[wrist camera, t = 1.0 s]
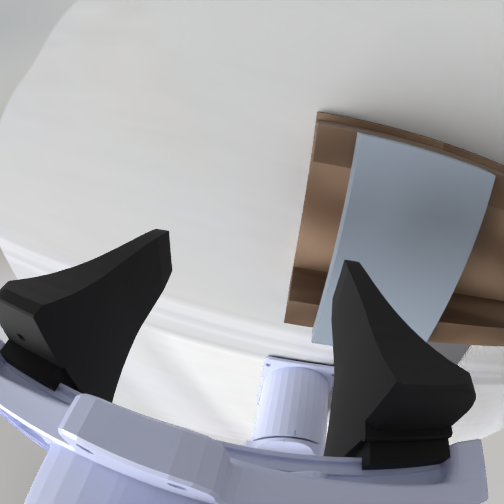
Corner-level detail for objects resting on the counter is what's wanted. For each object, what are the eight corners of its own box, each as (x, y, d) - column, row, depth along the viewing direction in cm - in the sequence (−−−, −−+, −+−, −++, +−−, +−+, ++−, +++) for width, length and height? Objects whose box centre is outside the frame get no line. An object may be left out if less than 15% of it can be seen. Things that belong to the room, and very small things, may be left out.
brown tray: (500, 316, 22) (519, 350, 18) (289, 285, 25) (283, 327, 21) (552, 190, 15) (586, 213, 11) (317, 111, 18) (319, 114, 14)
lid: (415, 343, 19) (418, 355, 18) (312, 330, 20) (311, 342, 19) (485, 169, 12) (495, 175, 11) (357, 131, 13) (361, 134, 12)
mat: (440, 381, 28) (441, 384, 27) (375, 377, 29) (375, 382, 28) (478, 325, 23) (480, 329, 23) (408, 317, 24) (409, 322, 24)
